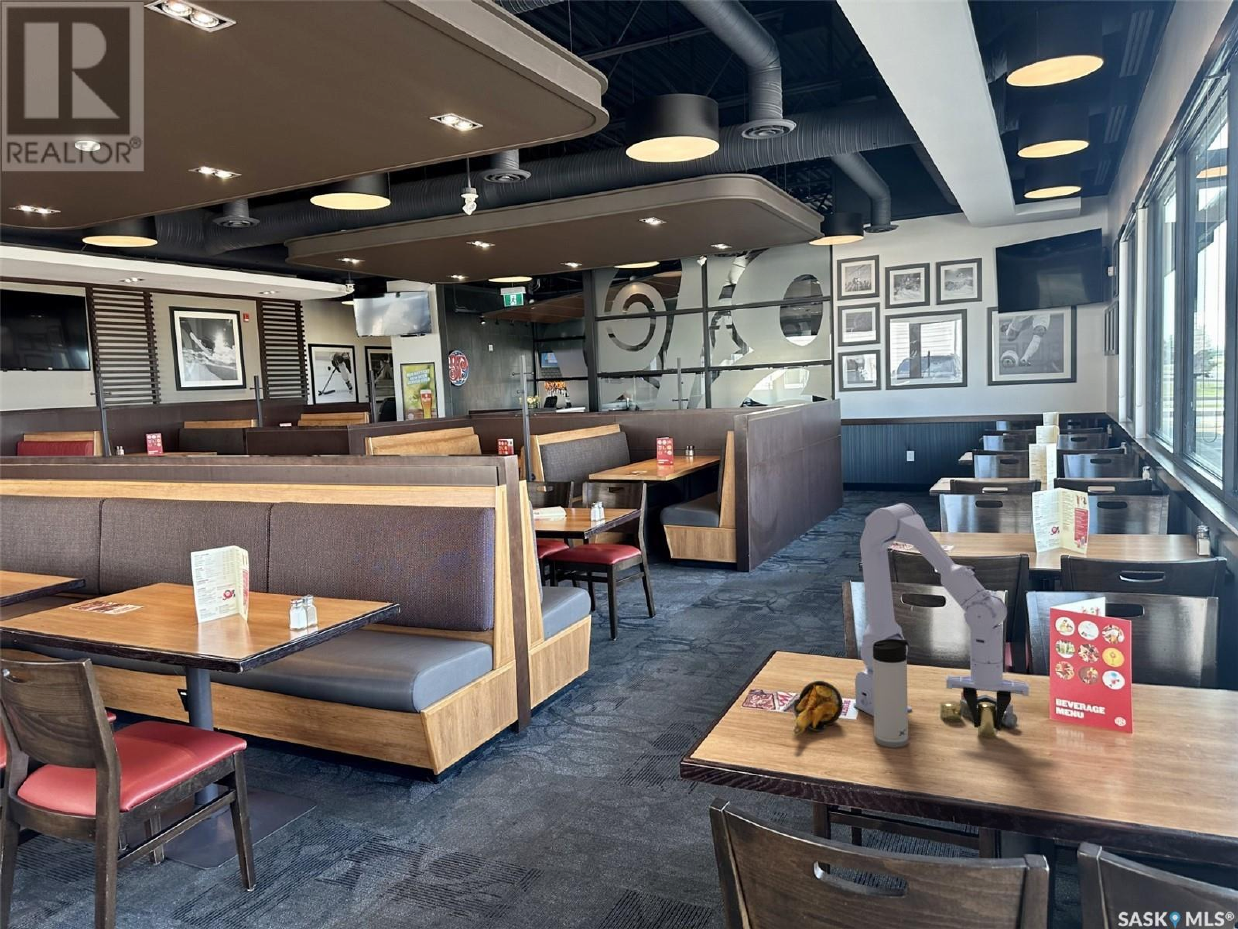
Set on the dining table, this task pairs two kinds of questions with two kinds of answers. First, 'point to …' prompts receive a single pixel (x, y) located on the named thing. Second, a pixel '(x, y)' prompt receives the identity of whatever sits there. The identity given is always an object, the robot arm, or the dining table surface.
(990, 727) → the brass nipple
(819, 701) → the fried food
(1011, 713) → the valve body
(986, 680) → the robot arm
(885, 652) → the travel mug
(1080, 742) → the dining table surface
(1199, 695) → the dining table surface
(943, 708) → the brass union nut
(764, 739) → the dining table surface
